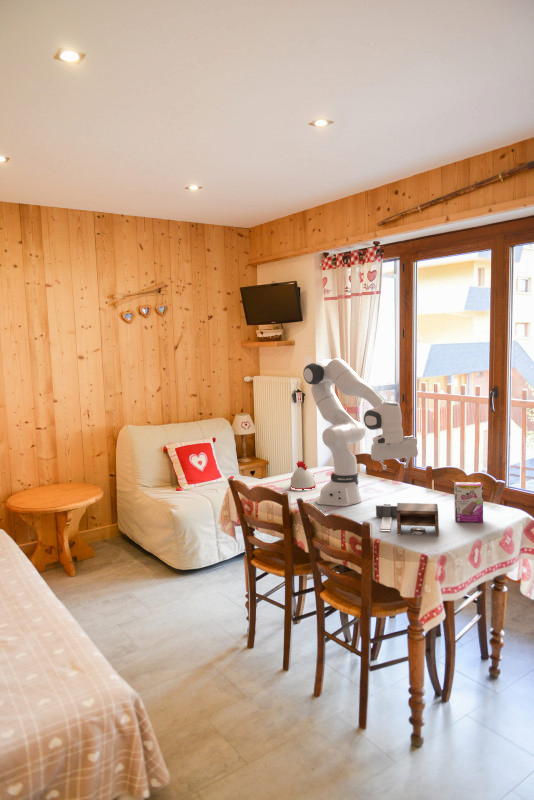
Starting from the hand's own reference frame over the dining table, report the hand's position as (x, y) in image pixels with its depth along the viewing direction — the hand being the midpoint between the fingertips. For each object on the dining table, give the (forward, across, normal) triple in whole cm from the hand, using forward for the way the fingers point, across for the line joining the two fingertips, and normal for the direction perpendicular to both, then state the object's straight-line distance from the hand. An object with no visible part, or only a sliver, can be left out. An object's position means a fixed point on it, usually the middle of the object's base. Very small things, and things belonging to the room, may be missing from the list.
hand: (395, 468), depth 241 cm
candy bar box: (+23, -27, +10) cm, 37 cm away
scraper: (+22, +7, +8) cm, 25 cm away
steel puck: (+23, -3, +20) cm, 31 cm away
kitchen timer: (+19, +39, -57) cm, 72 cm away
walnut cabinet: (+22, -3, +20) cm, 30 cm away
